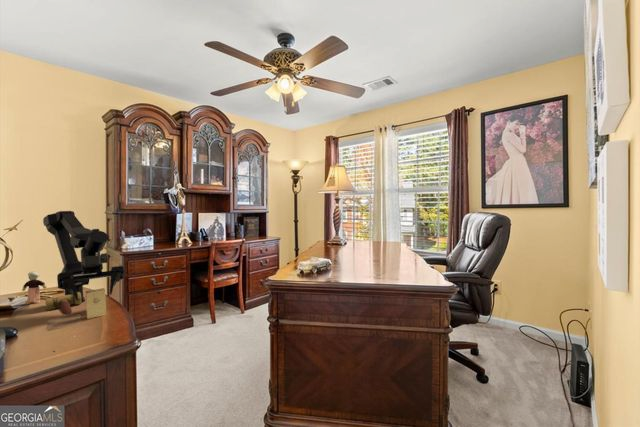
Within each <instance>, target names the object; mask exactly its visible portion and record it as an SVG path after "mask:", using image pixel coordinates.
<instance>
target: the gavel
mask: <svg viewBox="0 0 640 427" xmlns="http://www.w3.org/2000/svg"><path fill="white" fill-rule="evenodd" d="M77 294H78V301H76V300H75V298H74V297H73V295H65V294H64V295H61V296H56V297H54V296H50V297H46V298H45V308H46V311H52V310H54V309H55V308H60V309H61V313H62V314H63V315H64V316H69V315H72V313H73V310H72V308H71V305H75V306H76V305H80V304H81V305H82V302H81V293H80V292H77Z"/></svg>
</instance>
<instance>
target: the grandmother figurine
mask: <svg viewBox="0 0 640 427" xmlns="http://www.w3.org/2000/svg"><path fill="white" fill-rule="evenodd" d="M27 276H28V281H26V282H25V283H24V284H23V286H22V289H21V291H22V292H25V291H26V289H27V301H25V303H24V305H30V304H34V305H35V304H39V303H40V302H41V291H40V286H41V287H42V288H43V289H44V290H45V289H47V286H46V283H45V282H44V281H42V280H39V279H38V278H39V276H40V274H39V272H37V271H30V272H28V273H27Z"/></svg>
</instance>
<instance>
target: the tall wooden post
mask: <svg viewBox="0 0 640 427" xmlns="http://www.w3.org/2000/svg"><path fill="white" fill-rule="evenodd" d="M106 298H107V296H106V289H105V288H104V287H103V288H97V289H91V290H86V291H85V305H86V306H85V308H86V309H85V310H86V318H87V320H89V319H93V318H98V317H103V316H104V317H105V316H107V302H106V301H107V300H106Z"/></svg>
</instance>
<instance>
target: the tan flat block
mask: <svg viewBox="0 0 640 427" xmlns="http://www.w3.org/2000/svg"><path fill="white" fill-rule="evenodd" d="M81 315H82V314H81V313H74V314H69V315H64V316H60V317H54V318H49V319H48V322H47V332H50V331H55V330H59V329H63V328H68V327H73V326H77V325H82V324H83V321H82V316H81Z"/></svg>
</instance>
